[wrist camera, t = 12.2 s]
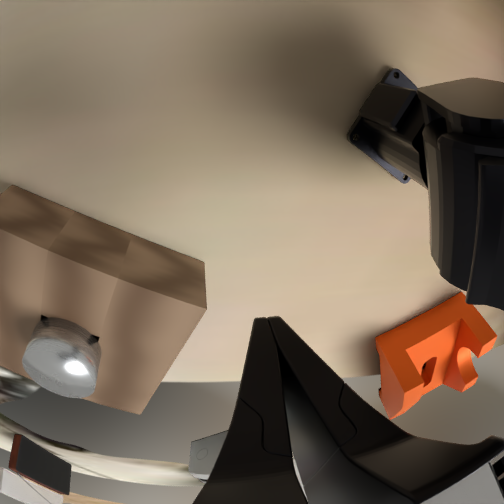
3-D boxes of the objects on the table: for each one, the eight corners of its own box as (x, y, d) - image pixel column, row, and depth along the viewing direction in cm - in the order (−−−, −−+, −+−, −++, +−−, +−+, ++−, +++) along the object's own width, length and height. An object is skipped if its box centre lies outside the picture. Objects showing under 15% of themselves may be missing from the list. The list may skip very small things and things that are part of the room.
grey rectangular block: (63, 495, 77) (62, 515, 68) (49, 493, 77) (48, 512, 68) (4, 467, 59) (0, 491, 50) (-8, 465, 59) (-11, 486, 50)
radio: (13, 433, 38) (3, 494, 26) (21, 434, 38) (12, 497, 26) (68, 466, 49) (64, 518, 37) (76, 467, 49) (74, 520, 37)
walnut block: (204, 262, 23) (206, 309, 19) (143, 374, 29) (140, 414, 25) (12, 184, 16) (-24, 216, 12) (6, 323, 23) (-10, 360, 19)
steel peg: (118, 291, 22) (100, 370, 16) (104, 333, 25) (90, 405, 19) (55, 266, 20) (20, 339, 14) (49, 312, 23) (24, 380, 16)
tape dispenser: (373, 334, 32) (404, 393, 25) (459, 289, 31) (497, 335, 24) (378, 395, 42) (397, 437, 35) (444, 360, 41) (466, 398, 34)
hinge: (210, 449, 44) (201, 496, 34) (192, 435, 43) (180, 482, 33) (298, 418, 40) (303, 471, 31) (281, 401, 39) (284, 456, 30)
